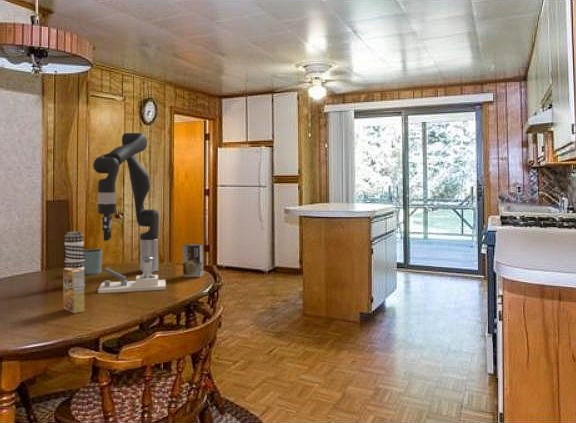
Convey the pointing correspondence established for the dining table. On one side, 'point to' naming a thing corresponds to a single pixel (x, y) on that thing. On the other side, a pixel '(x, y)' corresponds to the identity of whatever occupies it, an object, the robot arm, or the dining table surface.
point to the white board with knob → (133, 285)
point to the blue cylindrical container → (92, 261)
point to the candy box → (73, 289)
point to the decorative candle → (74, 250)
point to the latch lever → (115, 273)
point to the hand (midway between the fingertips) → (107, 239)
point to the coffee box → (193, 260)
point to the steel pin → (147, 267)
